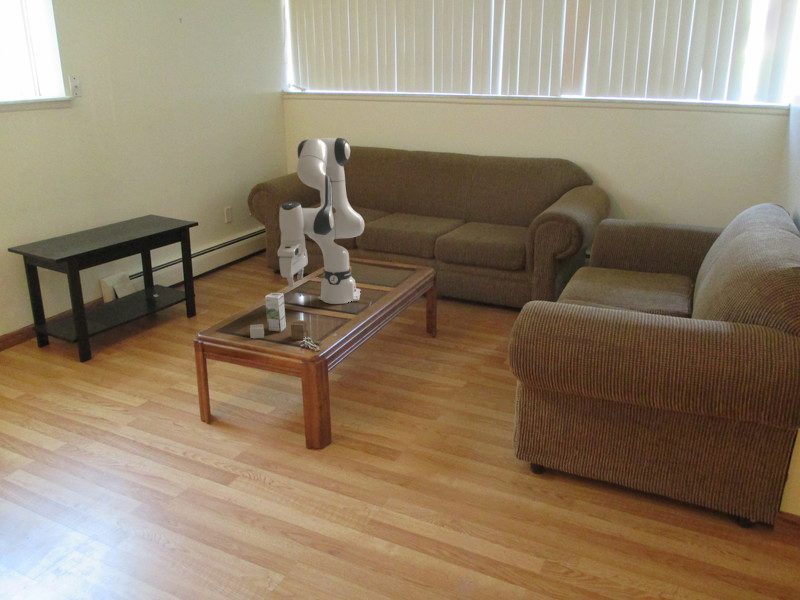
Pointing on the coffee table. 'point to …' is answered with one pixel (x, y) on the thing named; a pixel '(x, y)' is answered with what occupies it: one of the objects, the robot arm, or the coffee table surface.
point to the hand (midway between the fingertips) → (296, 282)
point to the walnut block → (299, 329)
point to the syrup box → (275, 312)
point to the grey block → (257, 331)
